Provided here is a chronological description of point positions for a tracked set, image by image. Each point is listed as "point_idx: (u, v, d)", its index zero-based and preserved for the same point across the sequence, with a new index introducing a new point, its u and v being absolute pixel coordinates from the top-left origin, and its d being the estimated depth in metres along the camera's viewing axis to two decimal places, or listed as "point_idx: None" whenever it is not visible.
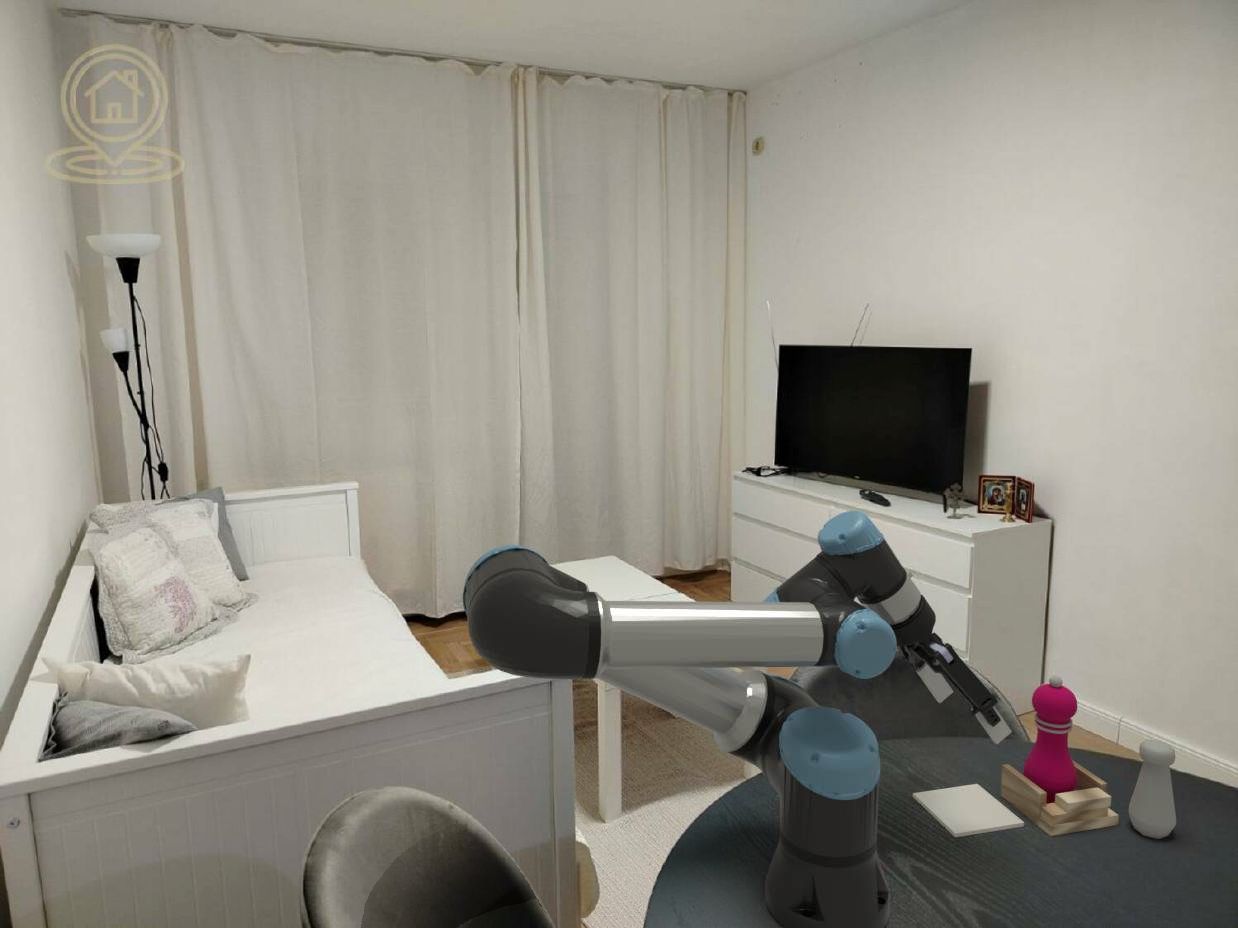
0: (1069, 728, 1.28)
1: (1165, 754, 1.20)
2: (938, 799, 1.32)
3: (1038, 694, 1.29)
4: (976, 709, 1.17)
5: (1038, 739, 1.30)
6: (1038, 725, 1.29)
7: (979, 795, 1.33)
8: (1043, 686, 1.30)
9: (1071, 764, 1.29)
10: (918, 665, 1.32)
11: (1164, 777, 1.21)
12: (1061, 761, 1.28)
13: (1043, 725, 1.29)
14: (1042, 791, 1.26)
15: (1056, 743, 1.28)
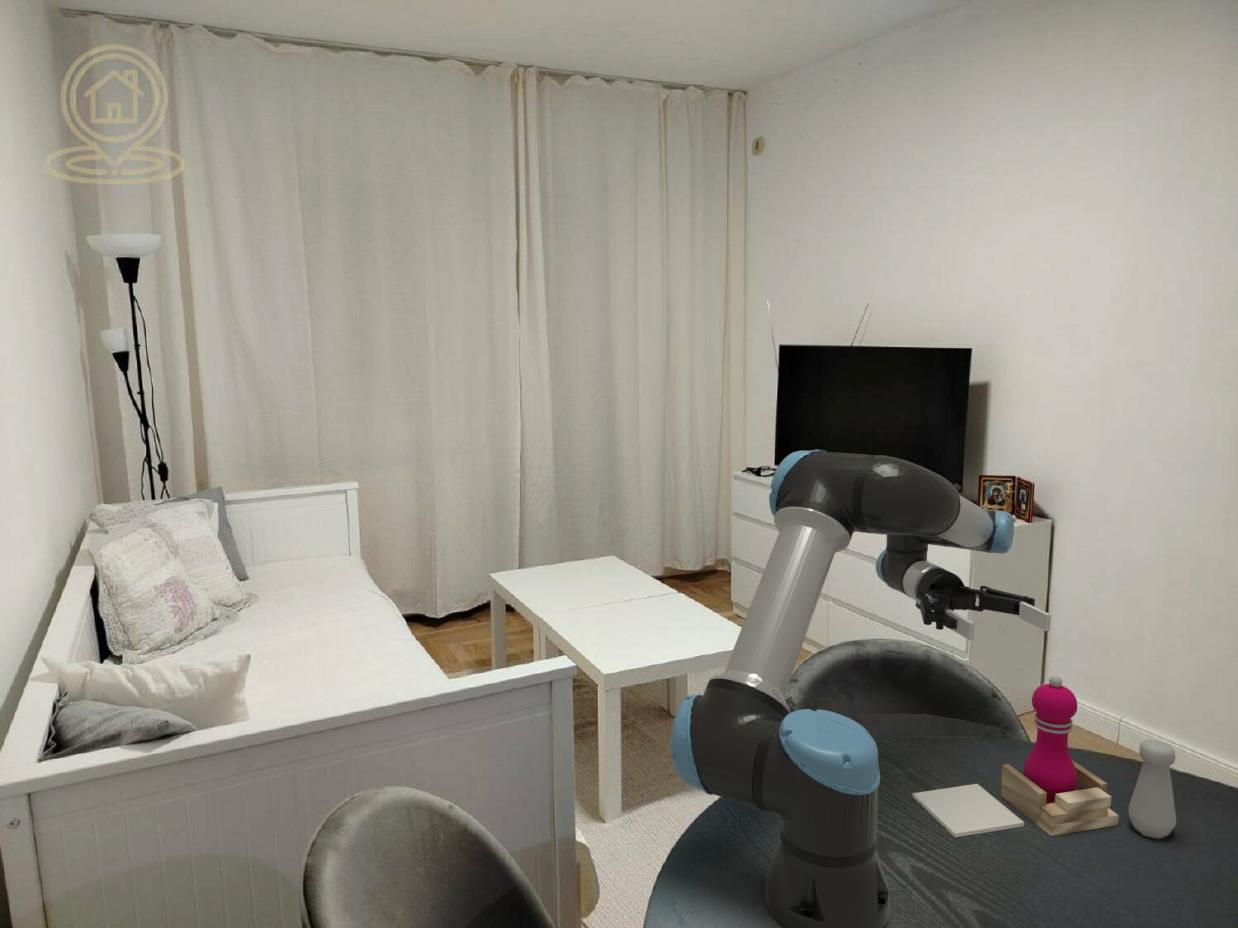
0: (1069, 728, 1.28)
1: (1165, 754, 1.20)
2: (938, 799, 1.32)
3: (1038, 694, 1.29)
4: None
5: (1038, 739, 1.30)
6: (1038, 725, 1.29)
7: (979, 795, 1.33)
8: (1043, 686, 1.30)
9: (1071, 764, 1.29)
10: (944, 613, 1.43)
11: (1164, 777, 1.21)
12: (1061, 761, 1.28)
13: (1043, 725, 1.29)
14: (1042, 791, 1.26)
15: (1056, 743, 1.28)
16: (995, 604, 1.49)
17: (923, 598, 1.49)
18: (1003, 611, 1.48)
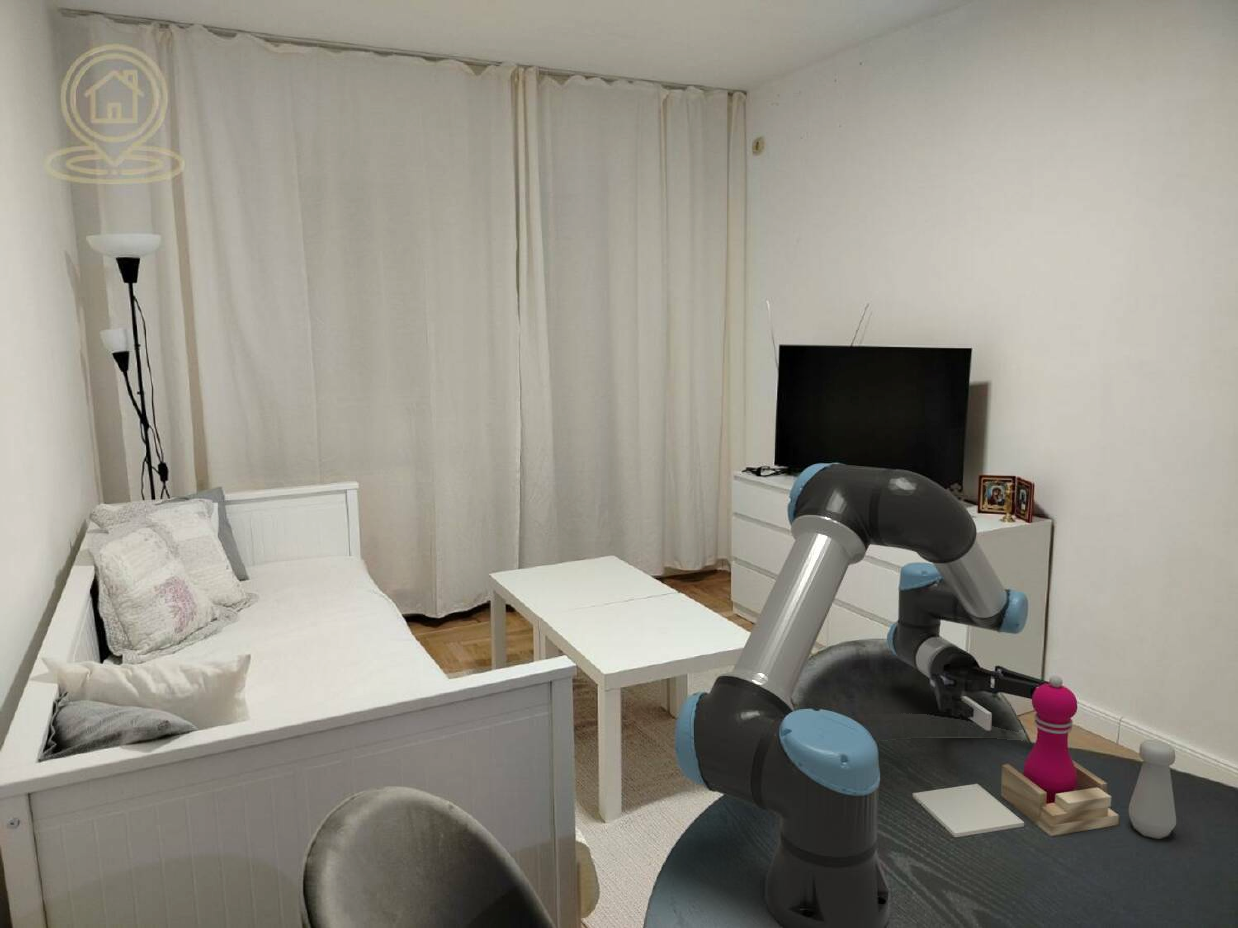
0: (1069, 728, 1.28)
1: (1165, 754, 1.20)
2: (938, 799, 1.32)
3: (1038, 694, 1.29)
4: None
5: (1038, 739, 1.30)
6: (1038, 725, 1.29)
7: (979, 795, 1.33)
8: (1043, 686, 1.30)
9: (1071, 764, 1.29)
10: (960, 700, 1.41)
11: (1164, 777, 1.21)
12: (1061, 761, 1.28)
13: (1043, 725, 1.29)
14: (1042, 791, 1.26)
15: (1056, 743, 1.28)
16: (1010, 687, 1.47)
17: (938, 681, 1.47)
18: (1019, 695, 1.46)
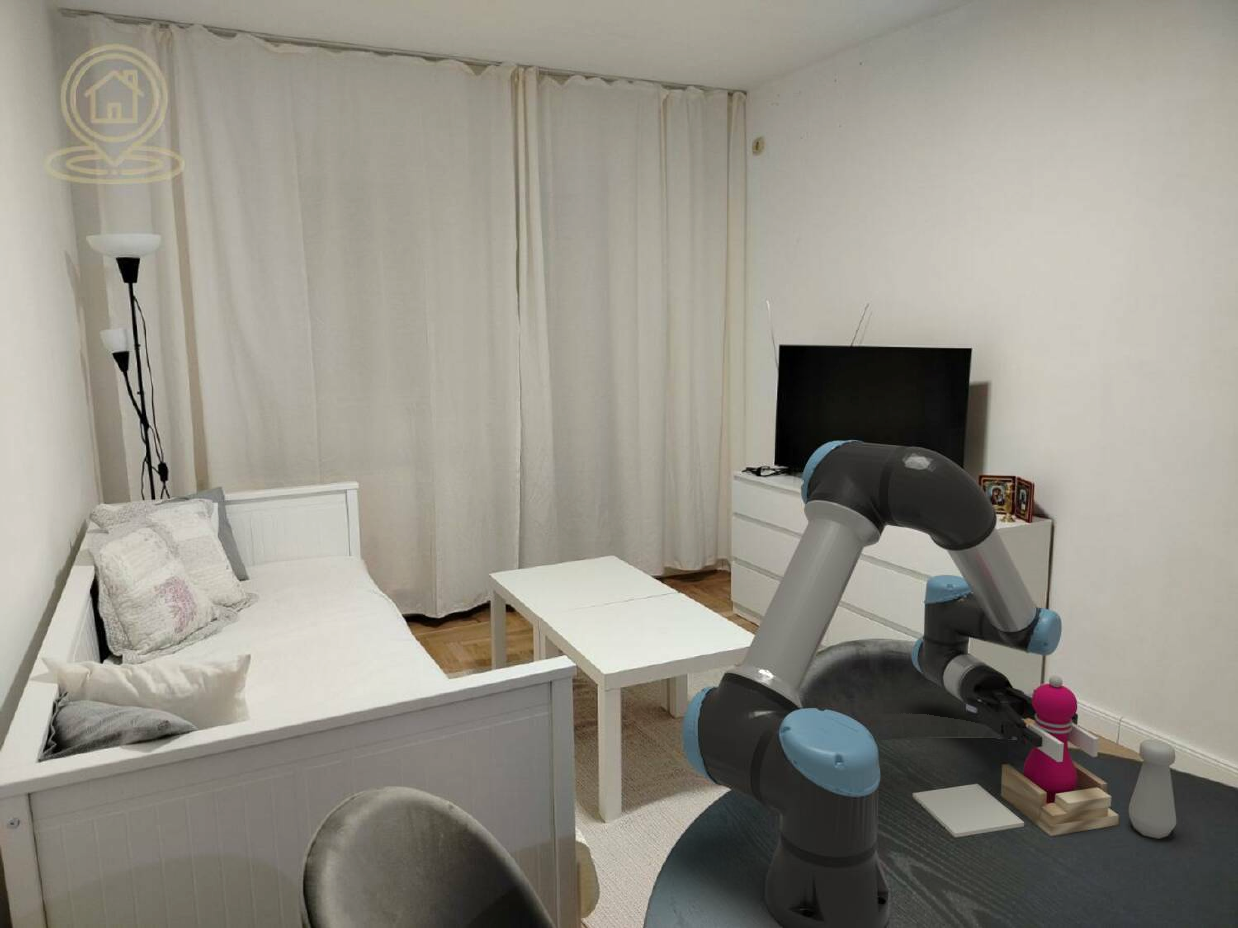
0: (1069, 728, 1.28)
1: (1165, 753, 1.20)
2: (938, 799, 1.32)
3: (1038, 694, 1.29)
4: None
5: None
6: (1038, 725, 1.29)
7: (979, 795, 1.33)
8: (1043, 686, 1.30)
9: (1071, 764, 1.29)
10: (1026, 727, 1.31)
11: (1164, 777, 1.21)
12: None
13: (1043, 725, 1.29)
14: (1042, 791, 1.26)
15: None
16: None
17: (983, 706, 1.37)
18: None
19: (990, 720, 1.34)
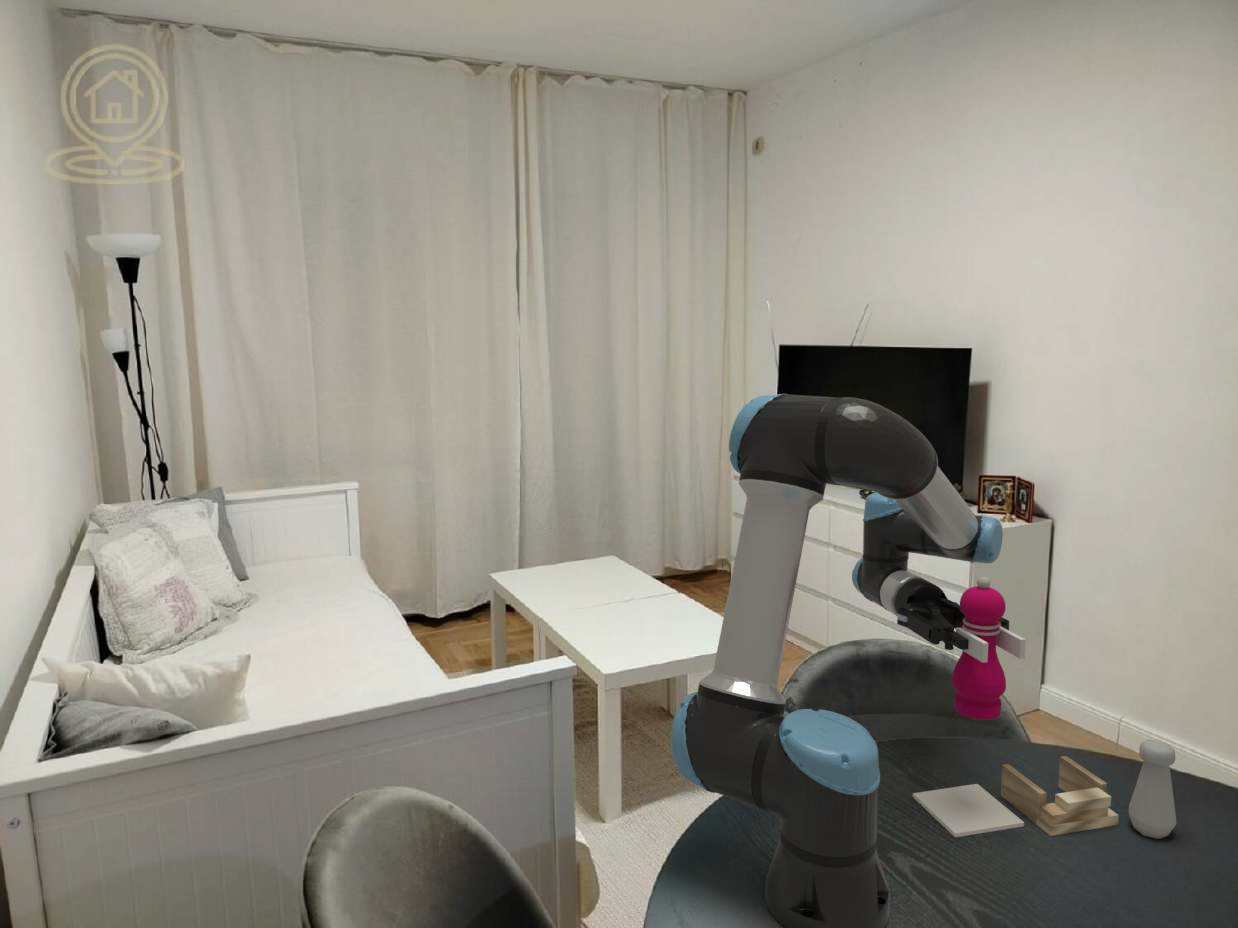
0: (997, 630, 1.24)
1: (1165, 754, 1.20)
2: (938, 799, 1.32)
3: (965, 595, 1.25)
4: (1000, 622, 1.28)
5: None
6: (965, 628, 1.25)
7: (979, 795, 1.33)
8: (971, 588, 1.25)
9: (999, 668, 1.24)
10: None
11: (1164, 777, 1.21)
12: (988, 664, 1.24)
13: (970, 628, 1.24)
14: (1042, 791, 1.26)
15: None
16: None
17: (913, 614, 1.32)
18: None
19: (919, 627, 1.30)
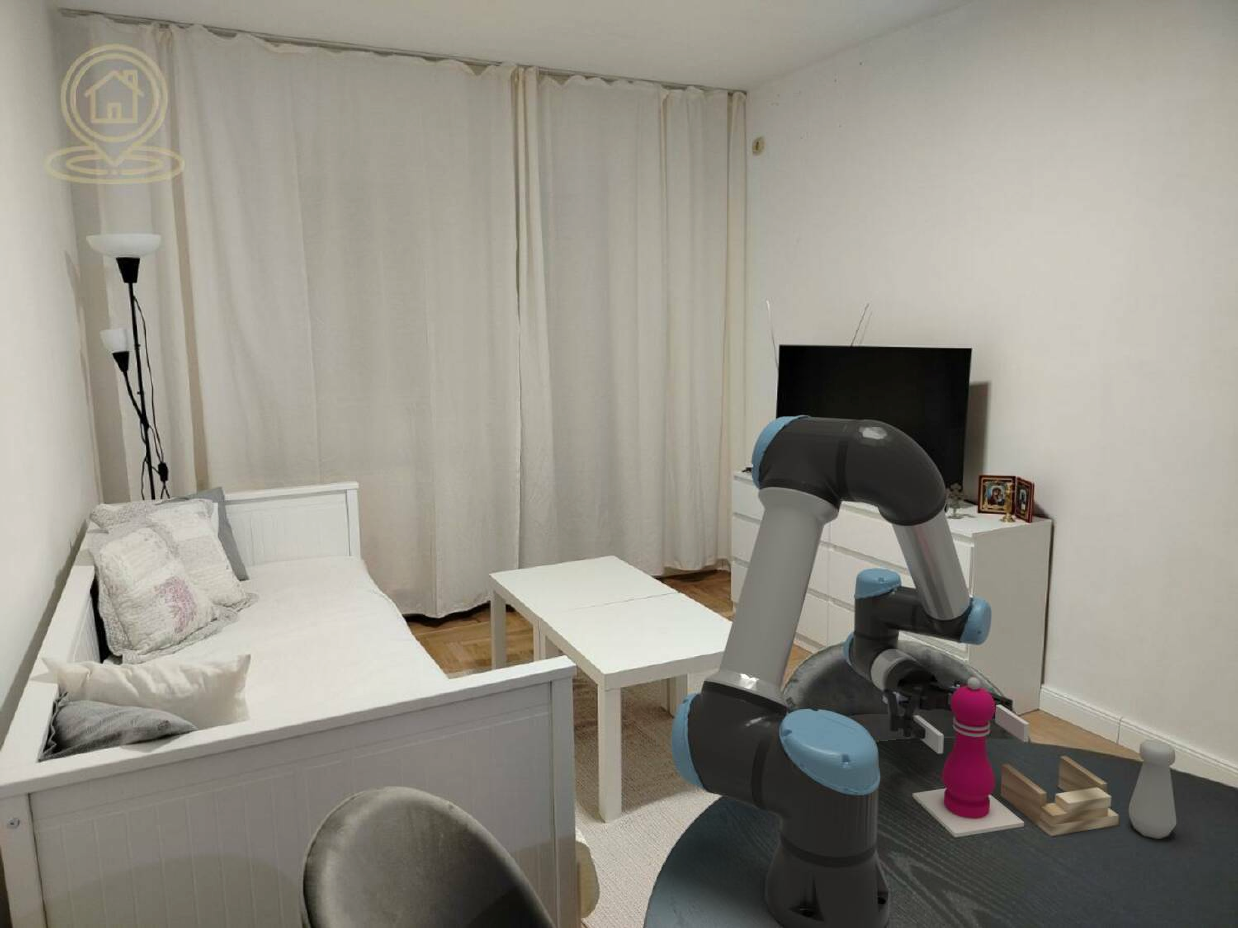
0: (986, 731, 1.26)
1: (1165, 754, 1.20)
2: (938, 799, 1.32)
3: (956, 696, 1.27)
4: None
5: (956, 742, 1.29)
6: (956, 728, 1.28)
7: None
8: (961, 688, 1.28)
9: (988, 768, 1.27)
10: (912, 719, 1.30)
11: (1164, 777, 1.21)
12: (978, 764, 1.26)
13: (960, 728, 1.27)
14: (1042, 791, 1.26)
15: (973, 746, 1.26)
16: None
17: (890, 698, 1.36)
18: None
19: (888, 711, 1.34)
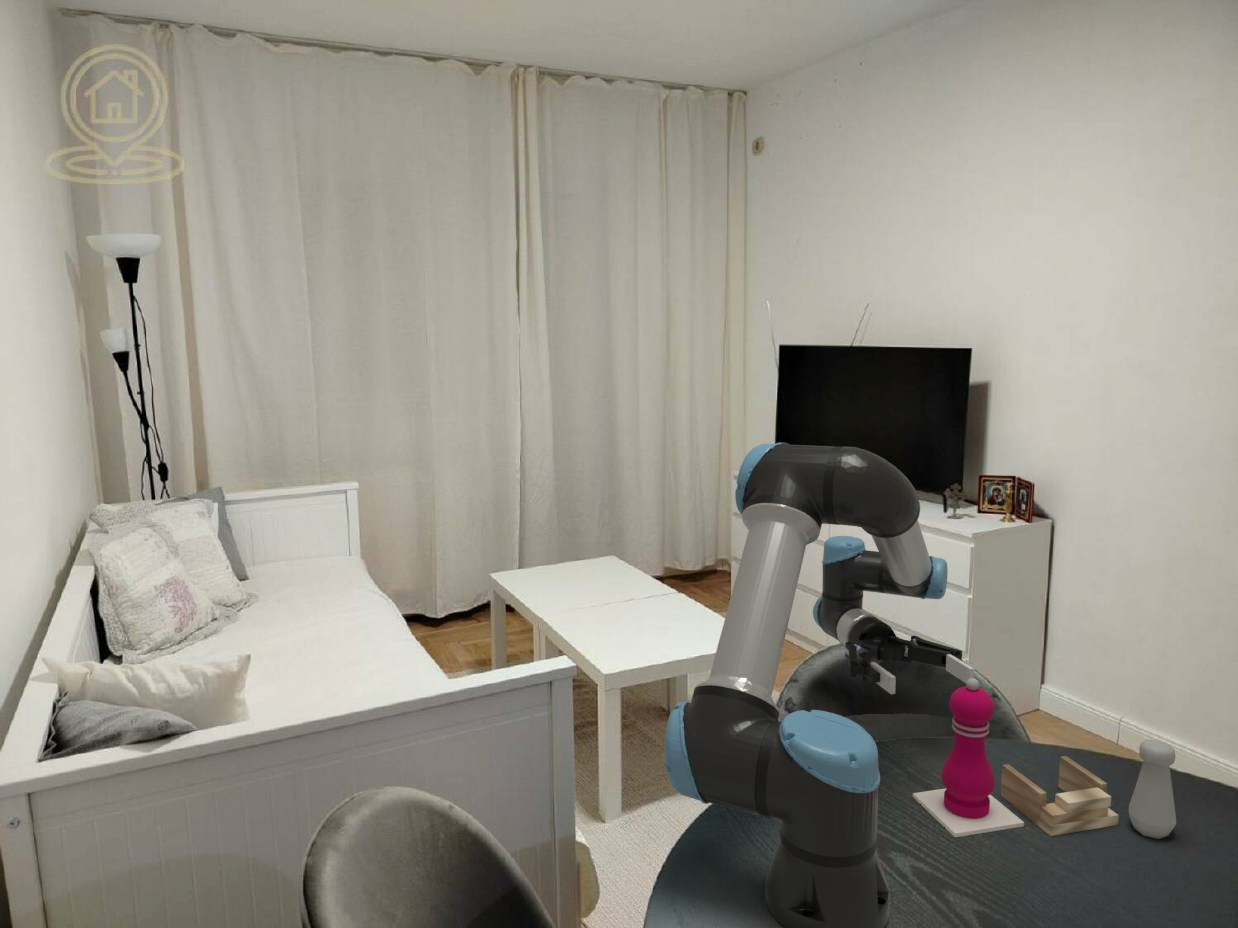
0: (985, 732, 1.26)
1: (1165, 754, 1.20)
2: (938, 799, 1.32)
3: (955, 697, 1.27)
4: None
5: (955, 743, 1.28)
6: (955, 728, 1.27)
7: None
8: (960, 689, 1.28)
9: (988, 768, 1.27)
10: None
11: (1164, 777, 1.21)
12: (977, 765, 1.26)
13: (959, 728, 1.27)
14: (1042, 791, 1.26)
15: (973, 747, 1.26)
16: (923, 656, 1.48)
17: (851, 649, 1.49)
18: (931, 663, 1.48)
19: None
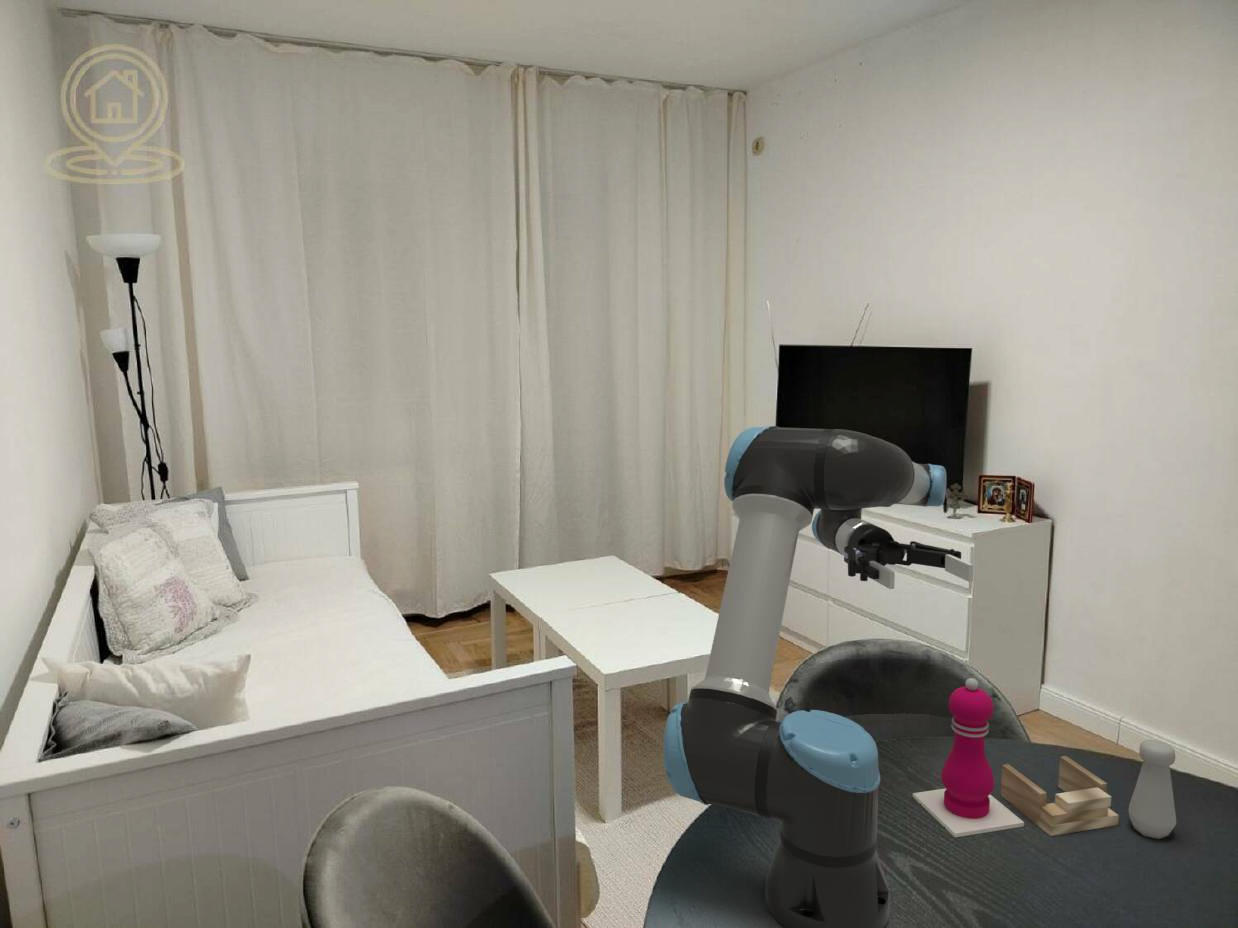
0: (985, 732, 1.26)
1: (1165, 754, 1.20)
2: (938, 799, 1.32)
3: (954, 697, 1.27)
4: None
5: (955, 743, 1.28)
6: (954, 728, 1.27)
7: None
8: (959, 689, 1.28)
9: (987, 768, 1.27)
10: None
11: (1164, 777, 1.21)
12: (977, 765, 1.26)
13: (959, 729, 1.27)
14: (1042, 791, 1.26)
15: (972, 747, 1.26)
16: (922, 558, 1.48)
17: (850, 551, 1.48)
18: (930, 564, 1.47)
19: None
